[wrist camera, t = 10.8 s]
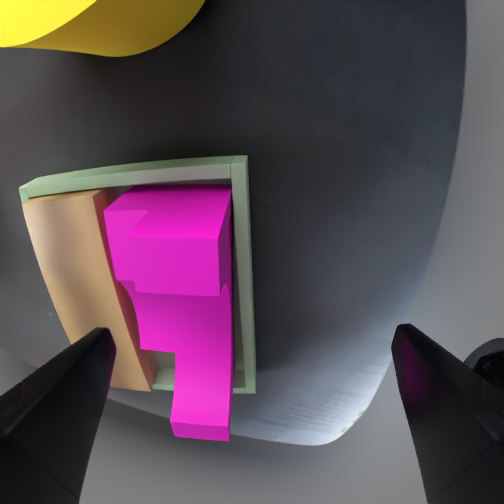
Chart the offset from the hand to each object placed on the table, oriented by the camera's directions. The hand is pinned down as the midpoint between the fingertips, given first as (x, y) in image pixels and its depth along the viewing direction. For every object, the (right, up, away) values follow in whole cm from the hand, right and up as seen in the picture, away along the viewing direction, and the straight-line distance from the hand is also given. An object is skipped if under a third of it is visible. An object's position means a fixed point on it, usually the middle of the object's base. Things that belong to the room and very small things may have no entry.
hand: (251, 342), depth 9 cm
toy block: (-4, 0, +13) cm, 14 cm away
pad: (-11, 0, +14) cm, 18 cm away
